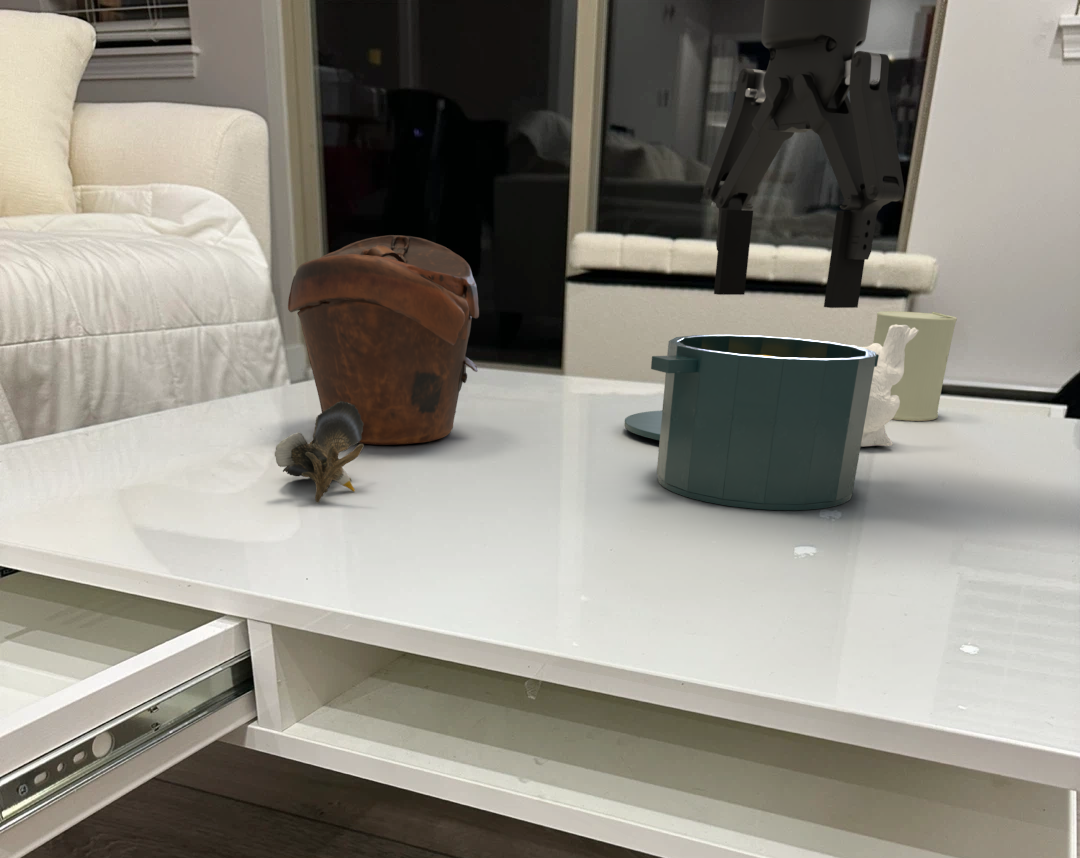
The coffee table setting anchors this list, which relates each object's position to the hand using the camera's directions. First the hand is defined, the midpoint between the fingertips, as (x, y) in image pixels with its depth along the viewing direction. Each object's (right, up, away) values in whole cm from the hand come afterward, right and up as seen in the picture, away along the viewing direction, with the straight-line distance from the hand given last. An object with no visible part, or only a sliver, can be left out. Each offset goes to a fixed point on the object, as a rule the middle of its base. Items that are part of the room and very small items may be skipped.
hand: (781, 301), depth 85 cm
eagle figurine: (-36, -16, -1) cm, 40 cm away
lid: (-2, -3, +26) cm, 27 cm away
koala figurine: (+15, -5, +26) cm, 30 cm away
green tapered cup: (+25, +4, +45) cm, 52 cm away
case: (-34, -5, +20) cm, 40 cm away
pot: (-1, -13, +7) cm, 15 cm away
